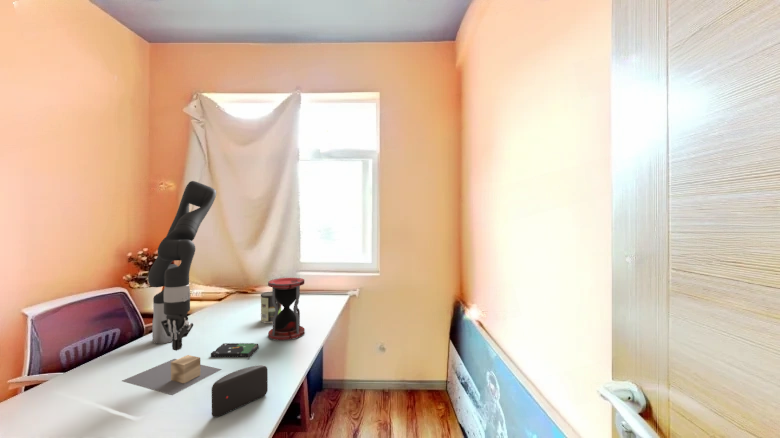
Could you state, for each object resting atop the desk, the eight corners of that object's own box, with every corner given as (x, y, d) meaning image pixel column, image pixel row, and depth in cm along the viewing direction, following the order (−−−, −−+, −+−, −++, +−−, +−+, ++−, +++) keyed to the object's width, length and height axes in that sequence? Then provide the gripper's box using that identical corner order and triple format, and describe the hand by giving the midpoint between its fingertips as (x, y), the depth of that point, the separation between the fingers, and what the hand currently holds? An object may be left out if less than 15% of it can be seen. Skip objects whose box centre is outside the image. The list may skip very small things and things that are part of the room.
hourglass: (284, 343, 143) (284, 285, 142) (260, 336, 151) (260, 281, 151) (312, 332, 156) (311, 279, 156) (288, 326, 165) (288, 276, 164)
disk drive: (210, 360, 127) (249, 360, 127) (210, 353, 127) (248, 352, 127) (223, 349, 137) (259, 349, 138) (223, 343, 137) (259, 342, 138)
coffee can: (284, 317, 179) (284, 291, 179) (277, 323, 169) (277, 295, 169) (265, 317, 179) (265, 291, 179) (257, 323, 169) (257, 295, 169)
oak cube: (183, 365, 107) (183, 383, 107) (200, 357, 113) (200, 375, 113) (170, 362, 109) (171, 380, 109) (187, 354, 115) (187, 372, 115)
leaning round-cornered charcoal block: (261, 390, 105) (260, 360, 105) (268, 395, 102) (268, 364, 102) (206, 414, 92) (206, 380, 92) (213, 420, 89) (213, 386, 89)
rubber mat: (121, 382, 109) (121, 380, 109) (174, 360, 126) (174, 358, 126) (172, 396, 101) (172, 395, 101) (221, 370, 117) (221, 369, 117)
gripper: (152, 299, 111) (152, 350, 111) (180, 303, 106) (180, 357, 106) (174, 294, 118) (174, 342, 118) (201, 298, 113) (201, 348, 113)
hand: (177, 349), depth 112 cm, fingers closed
